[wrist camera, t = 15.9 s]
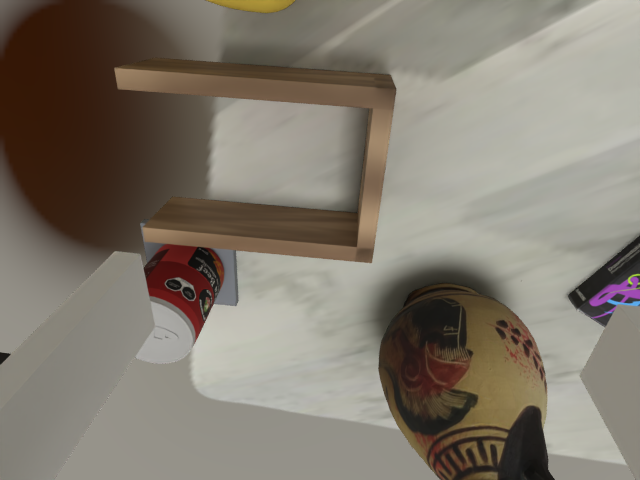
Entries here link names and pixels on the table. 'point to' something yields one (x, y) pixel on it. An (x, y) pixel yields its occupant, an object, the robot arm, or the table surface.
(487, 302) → the ceramic jug
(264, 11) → the teapot
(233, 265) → the coaster
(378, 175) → the shelf
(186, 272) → the canned food
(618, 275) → the box
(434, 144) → the table surface
